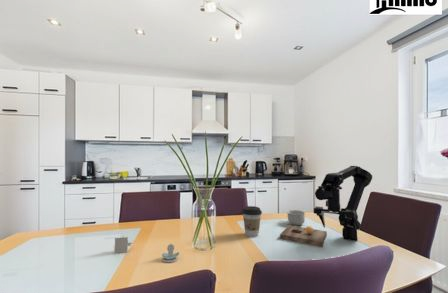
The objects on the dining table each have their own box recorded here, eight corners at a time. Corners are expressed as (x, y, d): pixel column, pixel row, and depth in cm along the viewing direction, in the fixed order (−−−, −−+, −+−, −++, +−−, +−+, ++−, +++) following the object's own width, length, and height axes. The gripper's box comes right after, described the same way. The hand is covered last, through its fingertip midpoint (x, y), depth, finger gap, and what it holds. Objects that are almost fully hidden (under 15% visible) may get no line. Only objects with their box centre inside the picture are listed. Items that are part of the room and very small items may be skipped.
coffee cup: (240, 237, 123) (240, 209, 123) (243, 230, 134) (243, 205, 134) (261, 239, 120) (261, 211, 121) (262, 232, 131) (262, 206, 132)
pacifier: (177, 263, 94) (179, 256, 100) (178, 248, 94) (179, 242, 100) (160, 263, 94) (163, 256, 100) (160, 248, 94) (163, 242, 100)
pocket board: (326, 235, 125) (326, 231, 125) (322, 247, 110) (322, 242, 110) (288, 229, 136) (288, 225, 136) (280, 238, 121) (280, 234, 121)
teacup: (307, 227, 141) (307, 214, 141) (289, 226, 141) (289, 214, 141) (300, 220, 155) (300, 208, 155) (284, 220, 155) (284, 208, 155)
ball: (314, 233, 122) (314, 225, 122) (312, 235, 119) (312, 227, 119) (306, 232, 124) (306, 224, 124) (304, 234, 121) (304, 226, 121)
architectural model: (116, 251, 106) (116, 235, 107) (132, 250, 107) (132, 234, 108) (114, 254, 103) (114, 238, 103) (130, 253, 104) (130, 237, 104)
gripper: (354, 197, 118) (355, 227, 118) (316, 194, 128) (317, 222, 127) (354, 201, 109) (355, 233, 108) (313, 197, 118) (313, 227, 118)
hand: (334, 228), depth 116 cm, fingers open, 9 cm apart
